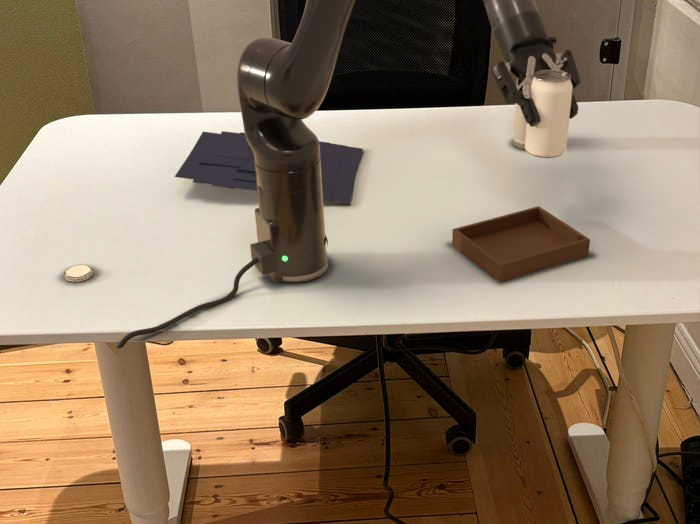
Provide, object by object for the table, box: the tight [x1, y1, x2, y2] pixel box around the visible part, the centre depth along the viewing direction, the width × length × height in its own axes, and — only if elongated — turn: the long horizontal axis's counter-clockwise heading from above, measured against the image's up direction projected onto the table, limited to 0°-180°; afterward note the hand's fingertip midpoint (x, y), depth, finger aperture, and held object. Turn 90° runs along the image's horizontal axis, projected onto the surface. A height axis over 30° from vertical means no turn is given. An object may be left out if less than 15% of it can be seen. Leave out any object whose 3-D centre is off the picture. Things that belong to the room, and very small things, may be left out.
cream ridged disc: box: [63, 264, 94, 283], centre depth 138 cm, size 4×4×1 cm
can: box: [525, 70, 573, 159], centre depth 144 cm, size 6×6×12 cm
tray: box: [451, 206, 591, 283], centre depth 142 cm, size 16×13×3 cm
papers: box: [174, 130, 364, 204], centre depth 166 cm, size 24×30×4 cm
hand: (554, 120), depth 143 cm, fingers closed on can, 6 cm apart
